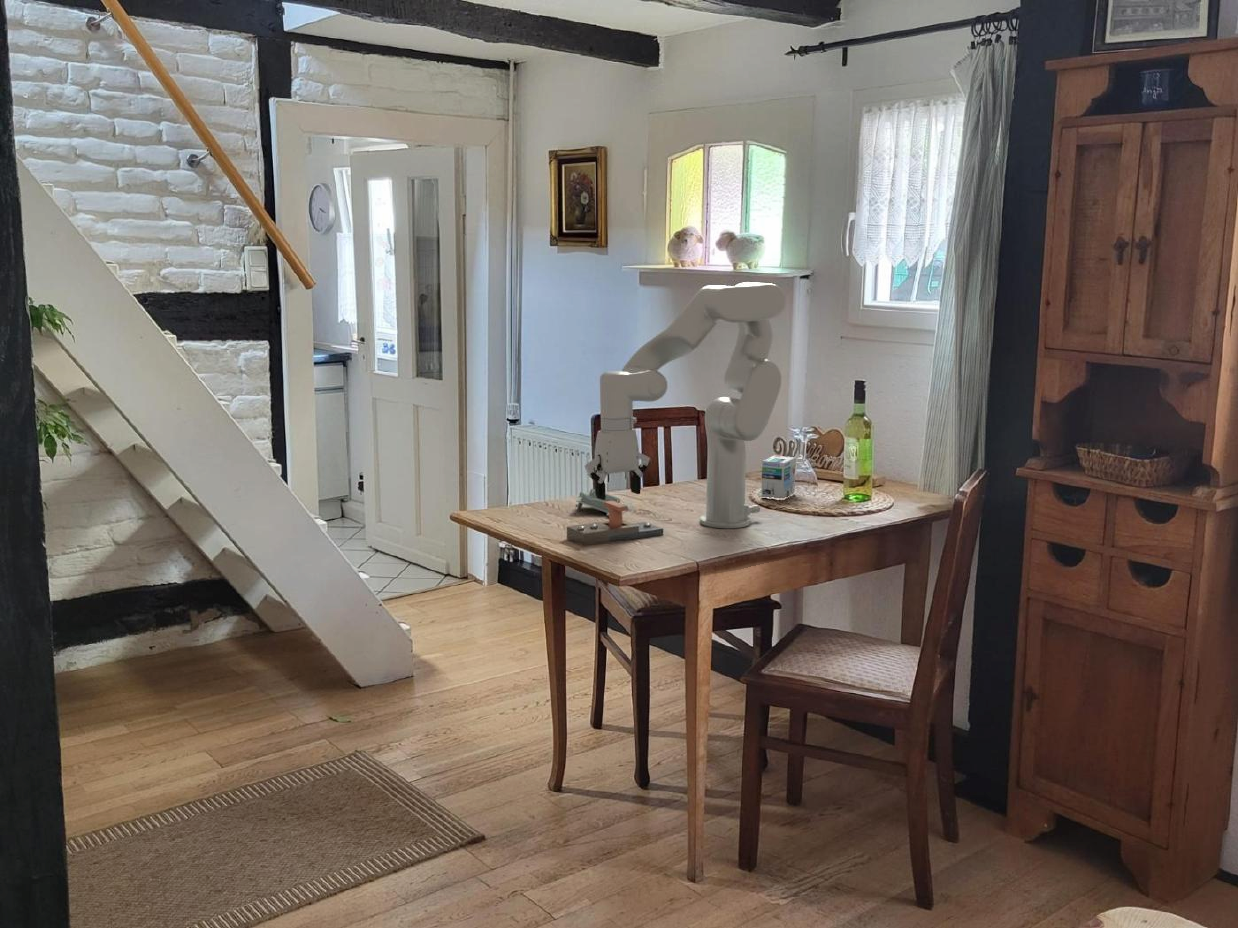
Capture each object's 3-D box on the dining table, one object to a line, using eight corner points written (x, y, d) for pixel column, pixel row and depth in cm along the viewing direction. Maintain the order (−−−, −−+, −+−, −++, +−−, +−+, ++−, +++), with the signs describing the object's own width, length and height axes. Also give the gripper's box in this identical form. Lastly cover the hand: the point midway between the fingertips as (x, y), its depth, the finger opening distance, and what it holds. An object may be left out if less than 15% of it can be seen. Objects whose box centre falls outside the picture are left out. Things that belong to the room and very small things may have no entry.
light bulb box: (783, 501, 309) (785, 462, 307) (760, 499, 312) (761, 460, 310) (795, 494, 319) (796, 456, 317) (772, 492, 322) (773, 454, 320)
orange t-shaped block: (613, 532, 273) (613, 500, 272) (629, 539, 267) (629, 506, 266) (602, 534, 272) (602, 501, 270) (617, 540, 266) (617, 507, 264)
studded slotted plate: (645, 527, 279) (645, 513, 278) (663, 534, 272) (663, 520, 271) (566, 538, 267) (566, 524, 266) (583, 546, 260) (583, 531, 260)
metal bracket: (571, 494, 290) (589, 483, 304) (565, 515, 292) (583, 503, 306) (623, 513, 287) (638, 501, 301) (617, 534, 289) (632, 521, 303)
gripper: (639, 418, 272) (640, 488, 276) (576, 426, 263) (578, 498, 267) (656, 422, 266) (657, 493, 269) (593, 430, 257) (595, 504, 260)
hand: (618, 495), depth 268 cm, fingers open, 9 cm apart
